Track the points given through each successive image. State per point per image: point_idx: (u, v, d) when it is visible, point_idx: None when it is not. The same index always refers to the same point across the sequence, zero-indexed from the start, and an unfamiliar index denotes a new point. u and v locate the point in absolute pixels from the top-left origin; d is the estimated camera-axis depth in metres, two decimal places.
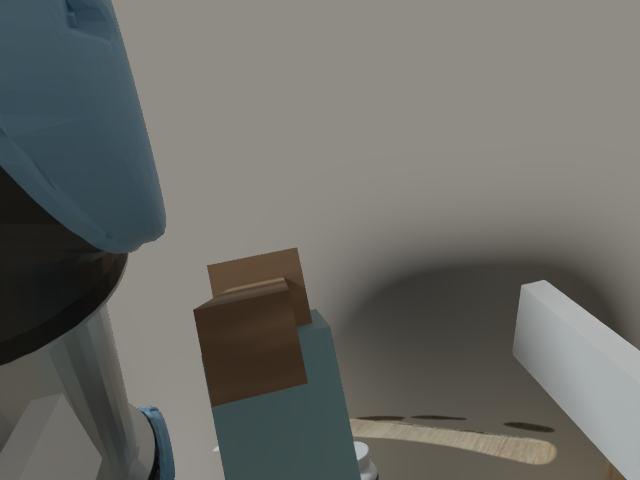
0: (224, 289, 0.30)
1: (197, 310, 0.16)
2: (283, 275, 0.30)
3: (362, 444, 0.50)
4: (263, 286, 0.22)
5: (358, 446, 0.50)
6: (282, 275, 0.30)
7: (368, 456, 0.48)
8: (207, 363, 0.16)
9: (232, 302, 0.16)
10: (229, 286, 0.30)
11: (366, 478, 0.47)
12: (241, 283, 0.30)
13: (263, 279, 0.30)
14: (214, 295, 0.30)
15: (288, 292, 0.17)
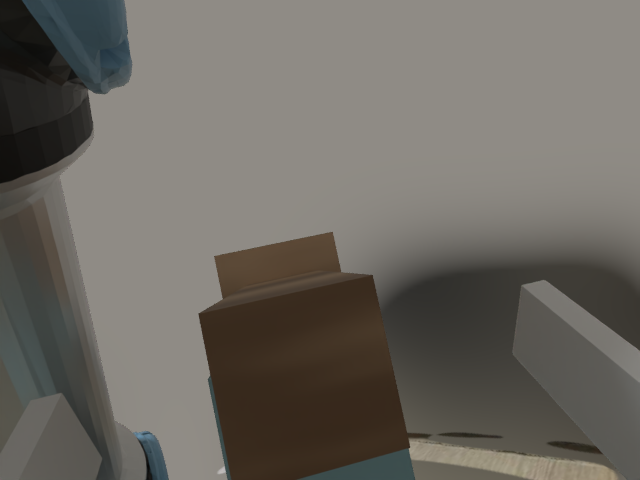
0: (237, 287, 0.22)
1: (206, 314, 0.09)
2: (315, 268, 0.23)
3: None
4: (301, 278, 0.15)
5: None
6: (313, 268, 0.23)
7: None
8: (225, 414, 0.08)
9: (270, 299, 0.09)
10: (244, 283, 0.22)
11: None
12: (260, 279, 0.23)
13: (289, 274, 0.23)
14: (224, 295, 0.22)
15: (371, 280, 0.09)
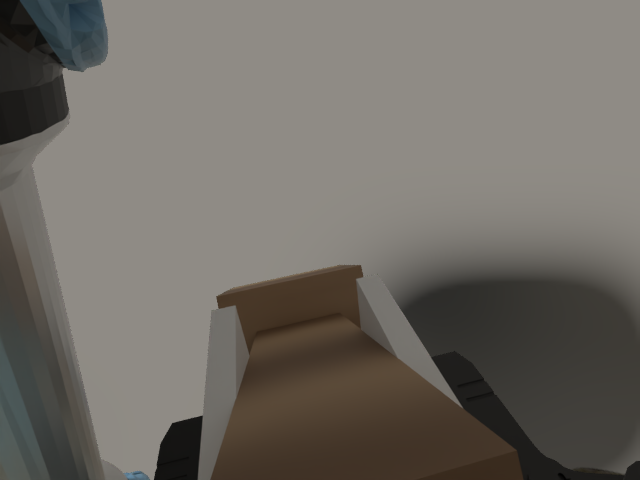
0: (245, 335, 0.18)
1: None
2: (339, 311, 0.19)
3: None
4: (339, 357, 0.11)
5: None
6: (338, 311, 0.19)
7: None
8: None
9: None
10: (253, 330, 0.18)
11: None
12: (272, 325, 0.18)
13: (308, 318, 0.19)
14: None
15: (513, 459, 0.05)
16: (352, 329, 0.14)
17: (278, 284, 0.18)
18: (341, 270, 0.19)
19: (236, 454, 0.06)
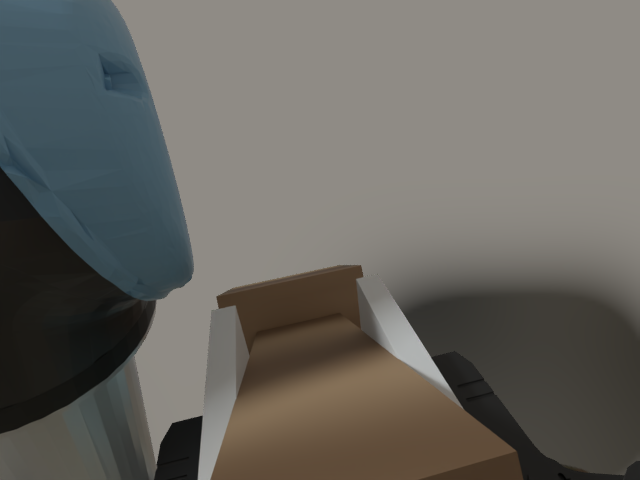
0: (245, 335, 0.18)
1: None
2: (340, 311, 0.19)
3: None
4: (338, 358, 0.11)
5: None
6: (338, 311, 0.19)
7: None
8: None
9: None
10: (253, 330, 0.18)
11: None
12: (272, 325, 0.18)
13: (308, 318, 0.19)
14: None
15: (513, 460, 0.05)
16: (352, 329, 0.14)
17: (278, 284, 0.18)
18: (341, 270, 0.19)
19: (236, 455, 0.06)
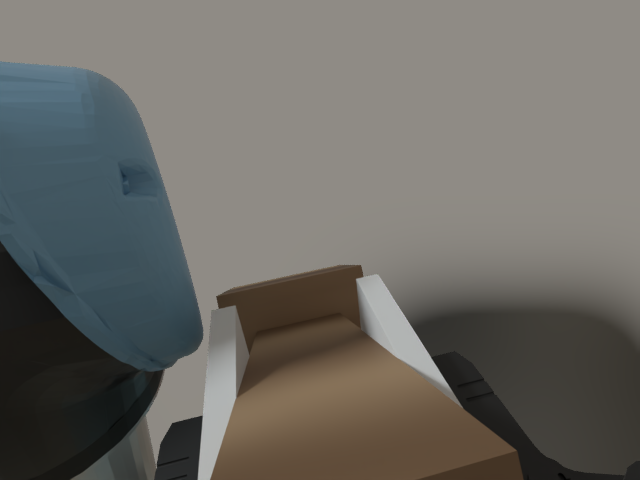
0: (245, 335, 0.18)
1: None
2: (340, 311, 0.19)
3: None
4: (339, 357, 0.11)
5: None
6: (338, 311, 0.19)
7: None
8: None
9: None
10: (253, 330, 0.18)
11: None
12: (272, 325, 0.18)
13: (308, 318, 0.19)
14: None
15: (513, 459, 0.05)
16: (352, 329, 0.14)
17: (278, 284, 0.18)
18: (341, 270, 0.19)
19: (236, 454, 0.06)
